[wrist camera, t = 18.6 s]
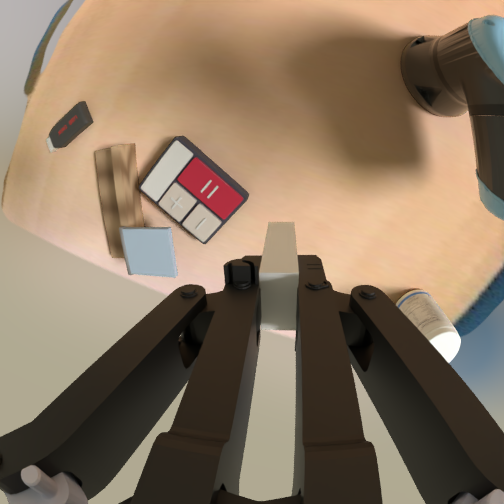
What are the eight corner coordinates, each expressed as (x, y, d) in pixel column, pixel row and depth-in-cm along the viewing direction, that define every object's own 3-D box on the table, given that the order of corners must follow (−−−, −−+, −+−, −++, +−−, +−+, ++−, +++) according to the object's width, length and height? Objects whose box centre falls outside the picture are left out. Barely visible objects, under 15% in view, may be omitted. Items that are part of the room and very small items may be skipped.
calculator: (203, 247, 46) (135, 189, 42) (208, 237, 50) (145, 183, 46) (248, 199, 42) (174, 135, 39) (250, 193, 46) (182, 134, 43)
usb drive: (94, 122, 43) (86, 122, 40) (58, 154, 46) (49, 156, 43) (86, 101, 41) (77, 100, 39) (50, 135, 44) (42, 136, 42)
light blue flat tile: (121, 226, 43) (117, 228, 42) (170, 225, 42) (167, 228, 40) (130, 271, 47) (127, 274, 45) (178, 275, 45) (175, 279, 44)
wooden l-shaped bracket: (99, 150, 44) (81, 153, 39) (134, 143, 43) (118, 145, 38) (115, 254, 52) (101, 266, 47) (149, 255, 51) (136, 267, 46)
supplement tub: (436, 309, 50) (465, 353, 36) (400, 333, 53) (422, 381, 39) (423, 278, 48) (456, 321, 34) (384, 304, 51) (408, 354, 37)
